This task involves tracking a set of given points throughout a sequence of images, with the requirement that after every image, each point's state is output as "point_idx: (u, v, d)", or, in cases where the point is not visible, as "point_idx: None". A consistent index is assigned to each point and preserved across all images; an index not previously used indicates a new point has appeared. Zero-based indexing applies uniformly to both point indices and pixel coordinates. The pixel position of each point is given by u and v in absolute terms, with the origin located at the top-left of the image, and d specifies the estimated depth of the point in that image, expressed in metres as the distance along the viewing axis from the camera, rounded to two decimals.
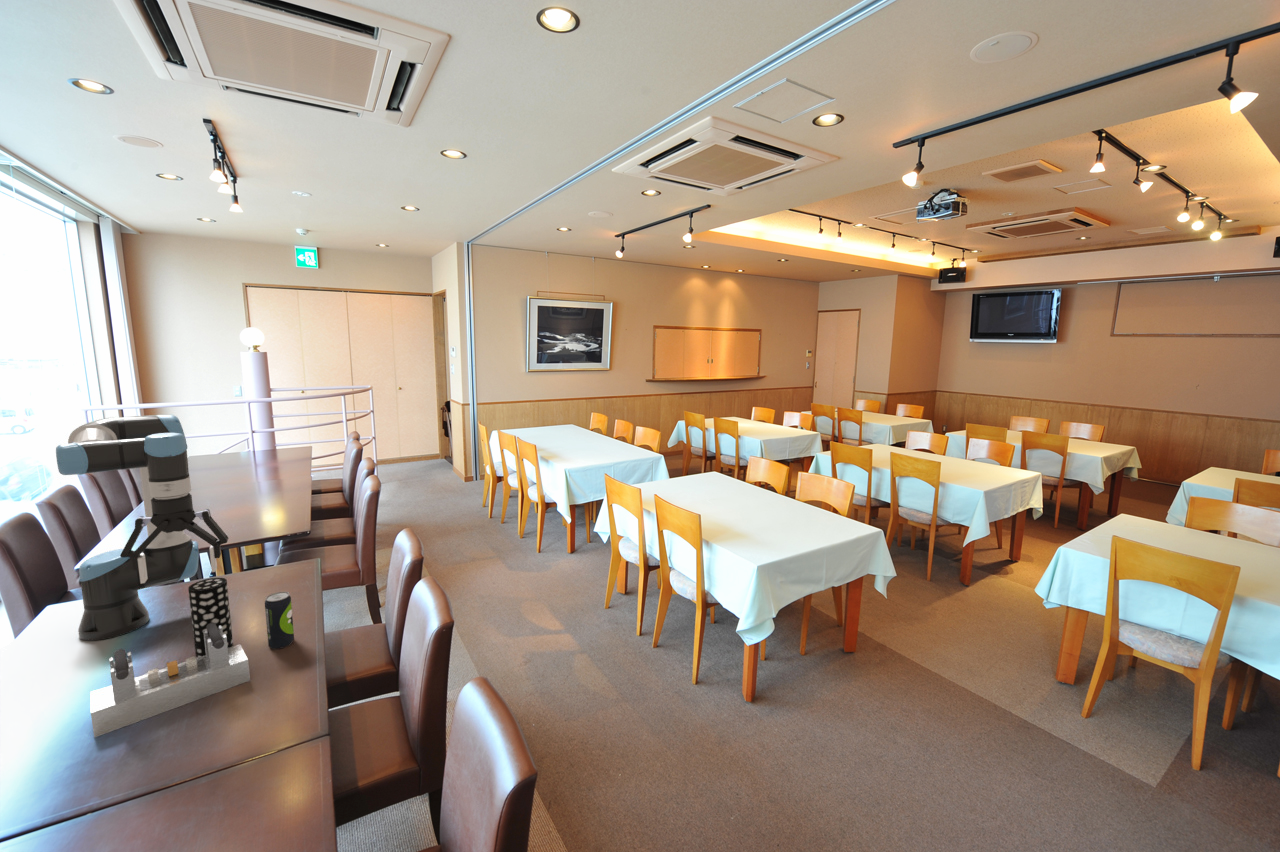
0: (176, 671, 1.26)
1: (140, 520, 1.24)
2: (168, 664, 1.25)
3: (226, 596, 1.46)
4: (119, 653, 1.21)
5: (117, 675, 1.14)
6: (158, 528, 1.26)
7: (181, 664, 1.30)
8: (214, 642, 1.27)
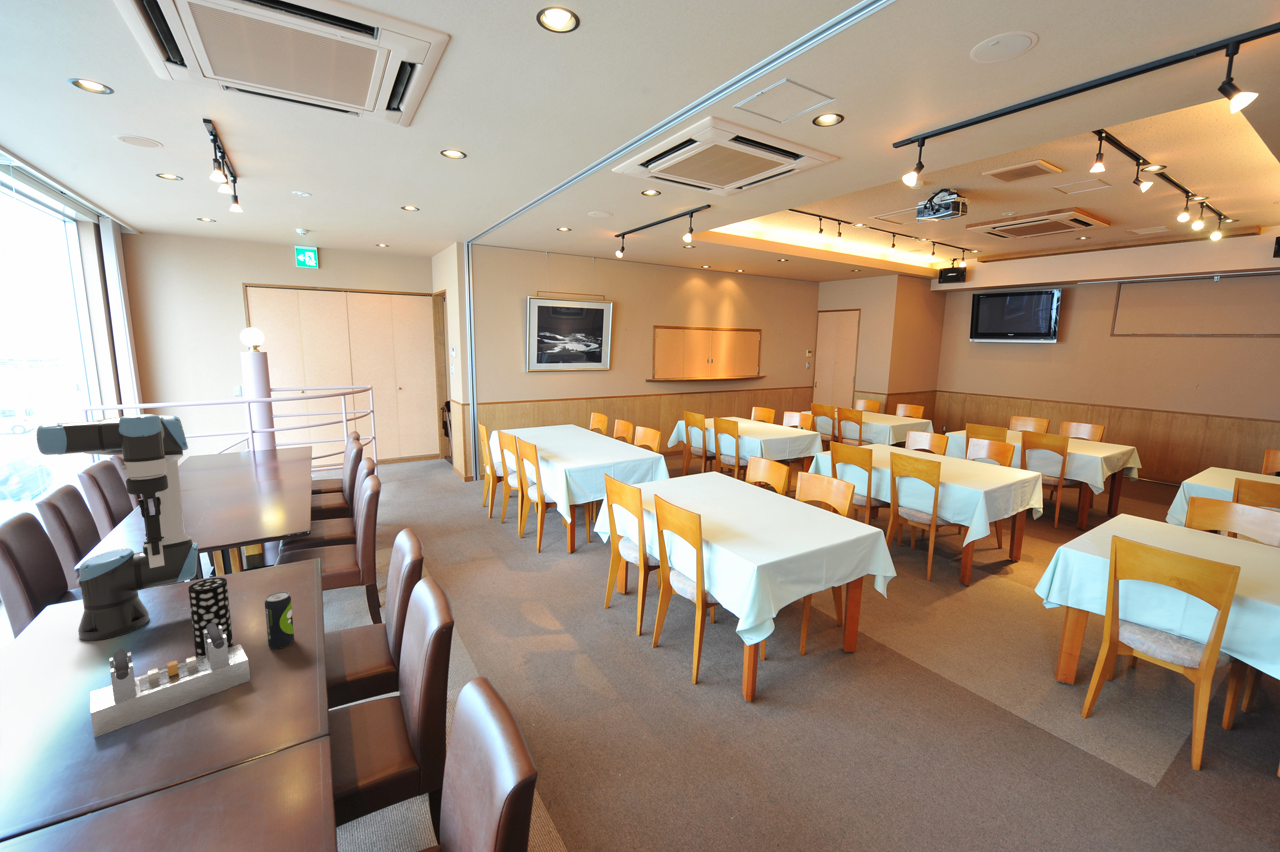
0: (176, 671, 1.26)
1: None
2: (168, 664, 1.25)
3: (226, 596, 1.46)
4: (119, 653, 1.21)
5: (117, 675, 1.14)
6: None
7: (181, 664, 1.30)
8: (214, 642, 1.27)
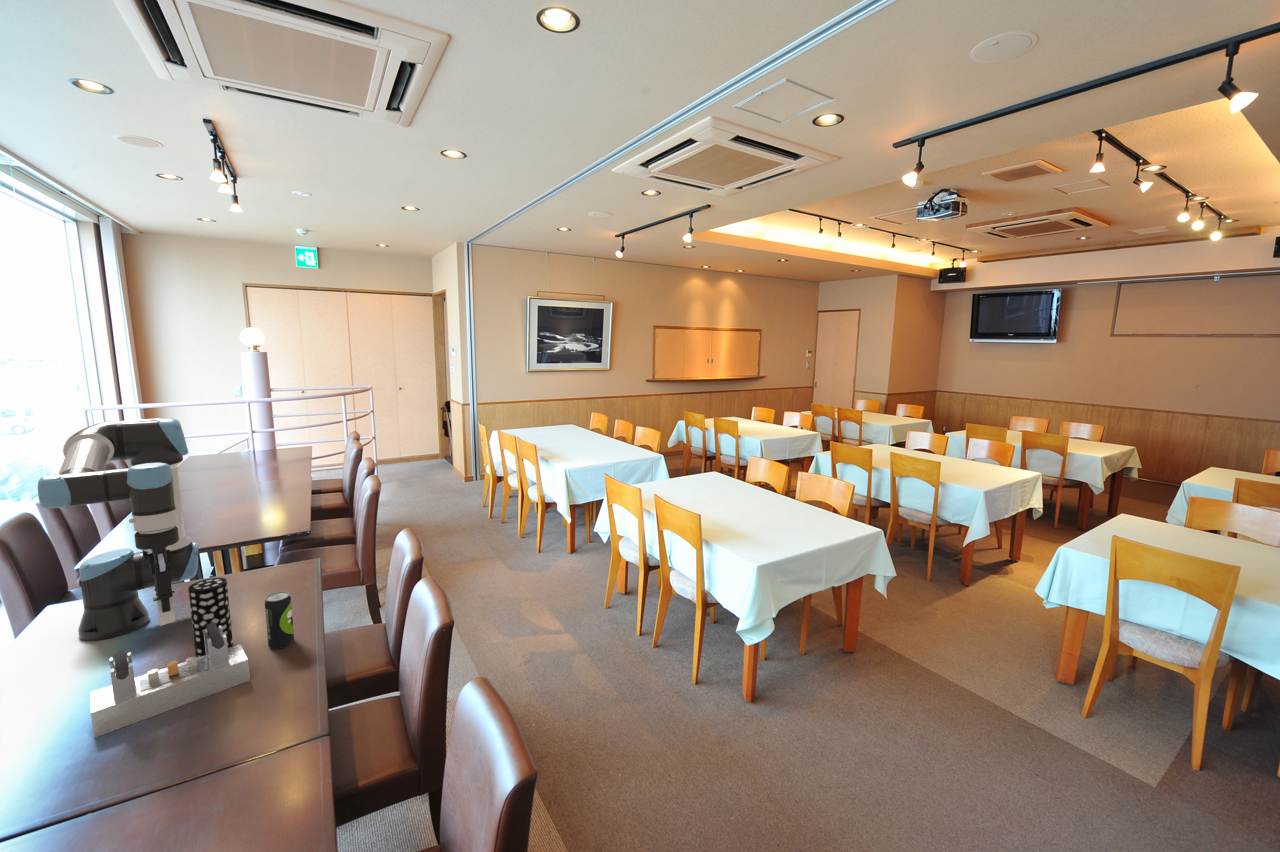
0: (176, 671, 1.26)
1: None
2: (168, 664, 1.25)
3: (226, 596, 1.46)
4: (119, 653, 1.21)
5: (117, 675, 1.14)
6: None
7: (181, 664, 1.30)
8: (214, 642, 1.27)
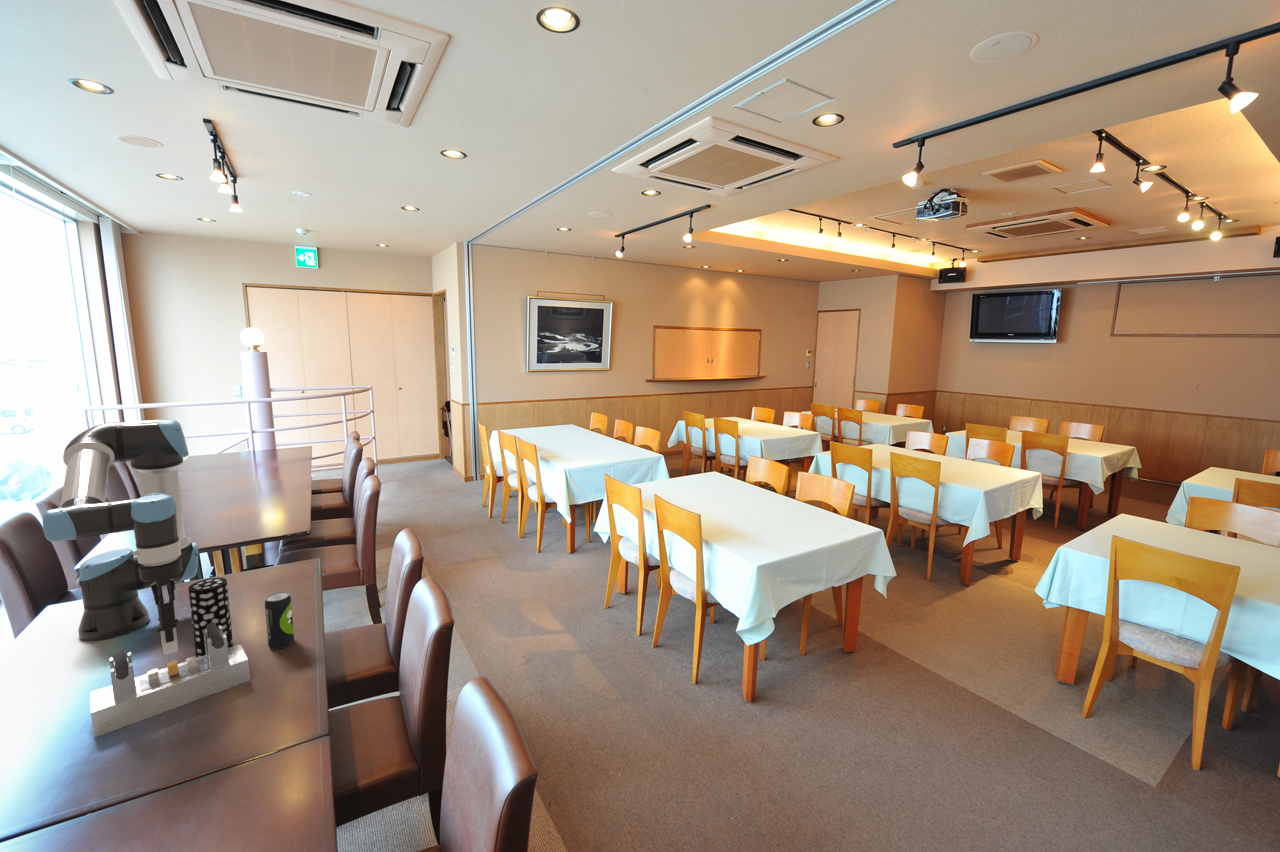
0: (176, 671, 1.26)
1: (154, 583, 1.26)
2: (168, 664, 1.25)
3: (226, 596, 1.46)
4: (119, 653, 1.21)
5: (117, 675, 1.14)
6: None
7: (181, 664, 1.30)
8: (214, 642, 1.27)
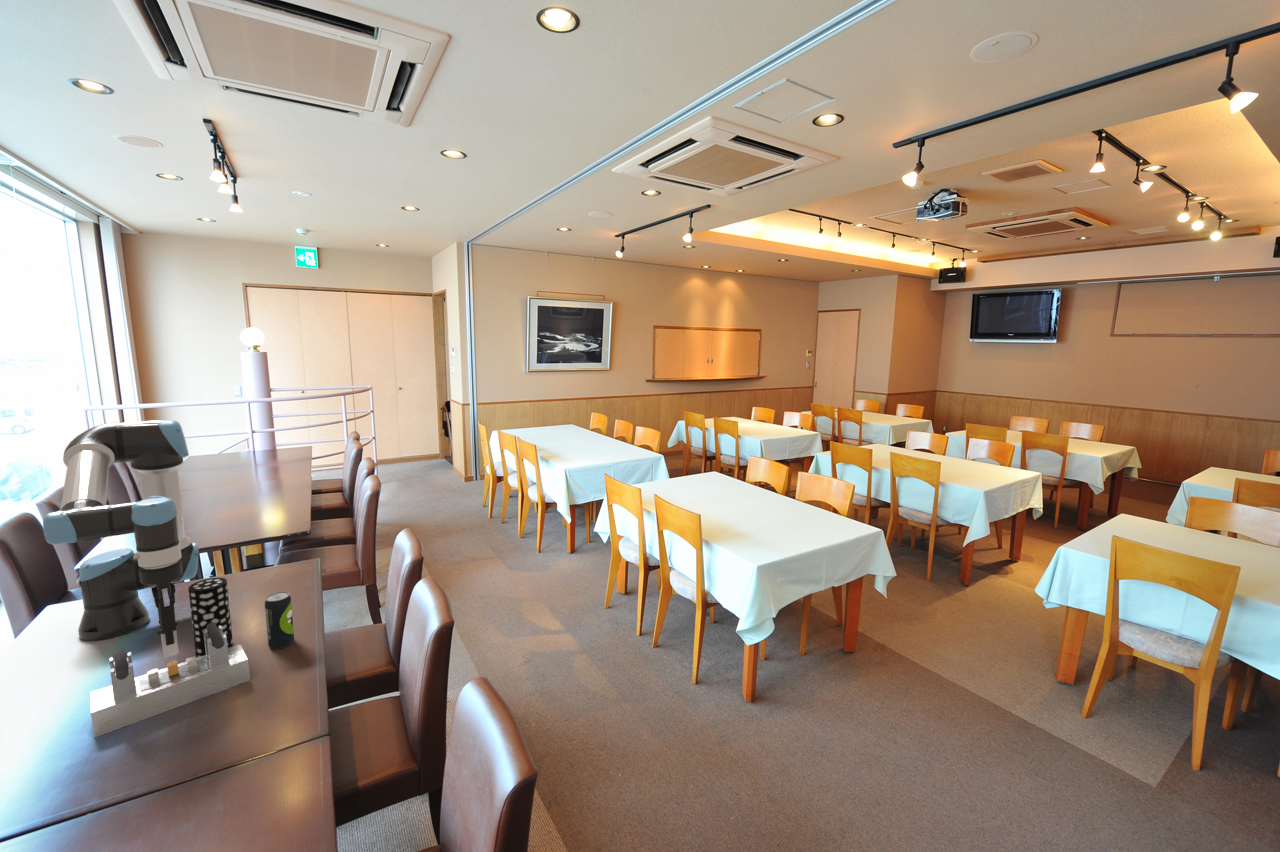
0: (176, 671, 1.26)
1: (154, 585, 1.26)
2: (168, 664, 1.25)
3: (226, 596, 1.46)
4: (119, 653, 1.21)
5: (117, 675, 1.14)
6: None
7: (181, 664, 1.30)
8: (214, 642, 1.27)
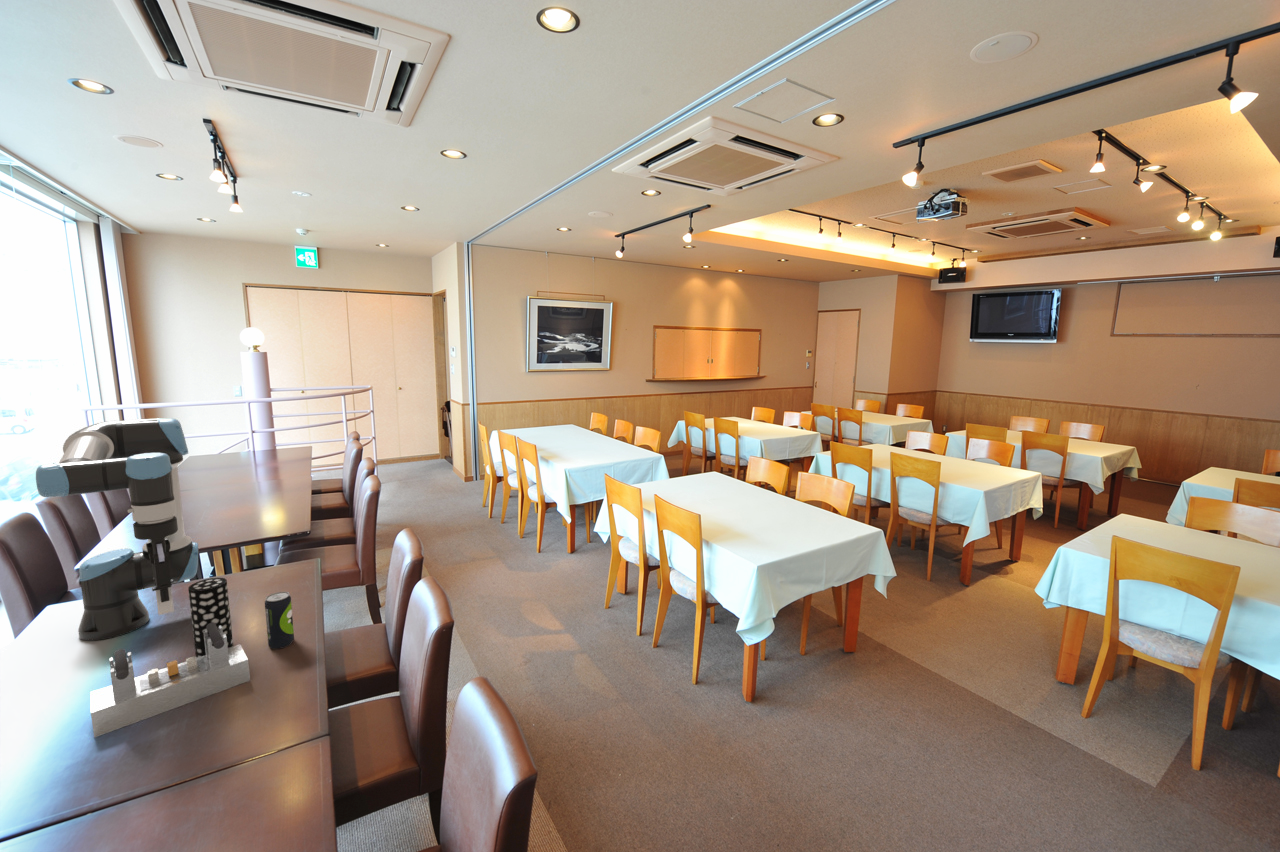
0: (176, 671, 1.26)
1: None
2: (168, 664, 1.25)
3: (226, 596, 1.46)
4: (119, 653, 1.21)
5: (117, 675, 1.14)
6: None
7: (181, 664, 1.30)
8: (214, 642, 1.27)
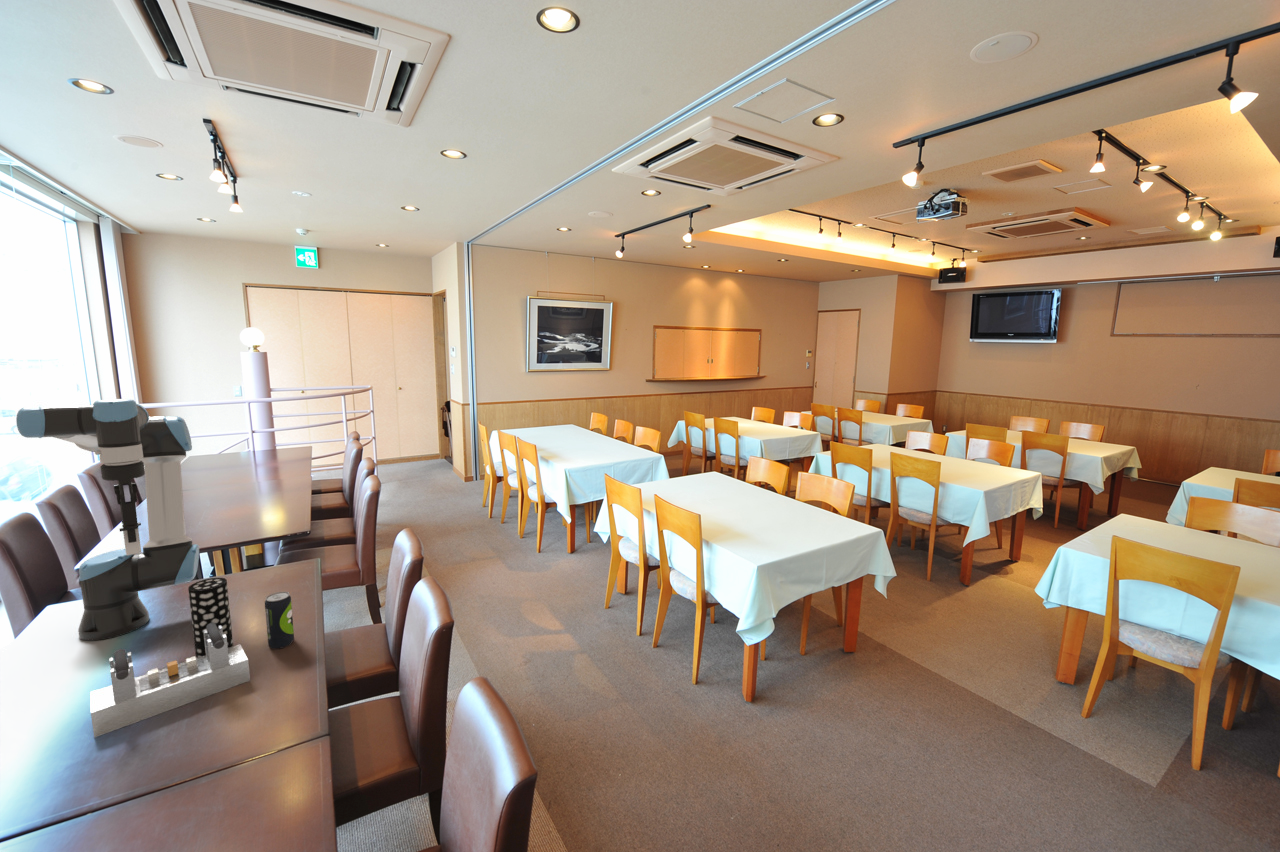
0: (176, 671, 1.26)
1: None
2: (168, 664, 1.25)
3: (226, 596, 1.46)
4: (119, 653, 1.21)
5: (117, 675, 1.14)
6: (116, 494, 1.27)
7: (181, 664, 1.30)
8: (214, 642, 1.27)
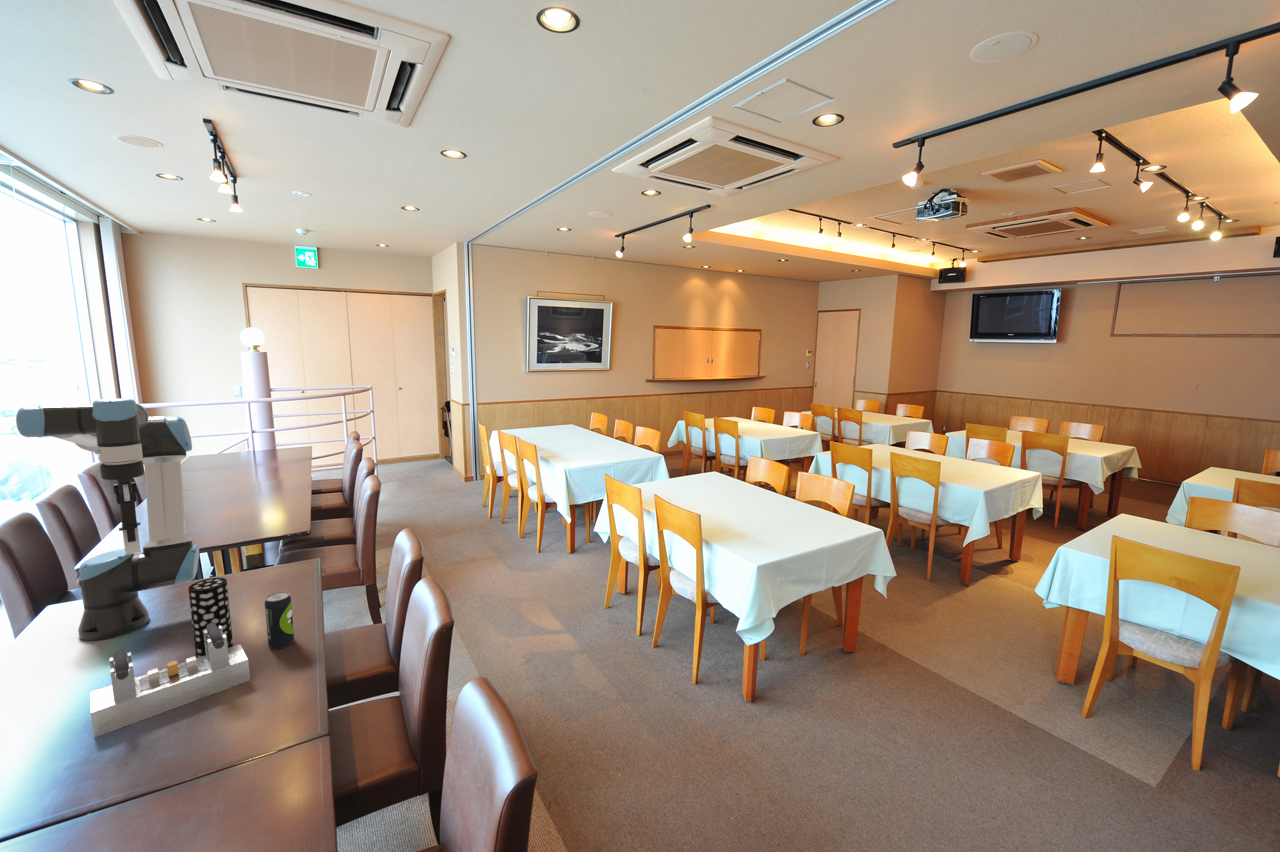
0: (176, 671, 1.26)
1: None
2: (168, 664, 1.25)
3: (226, 596, 1.46)
4: (119, 653, 1.21)
5: (117, 675, 1.14)
6: None
7: (181, 664, 1.30)
8: (214, 642, 1.27)
